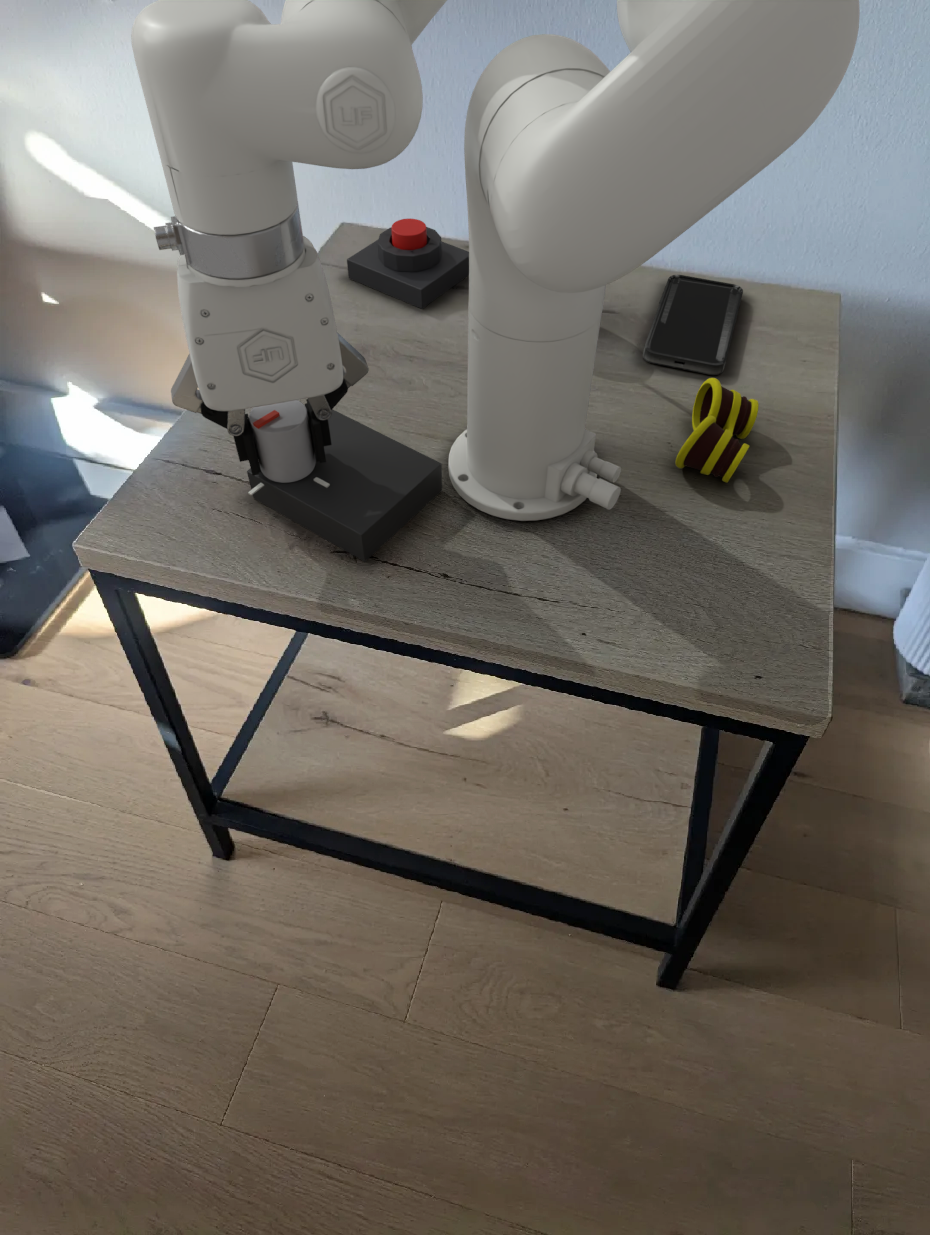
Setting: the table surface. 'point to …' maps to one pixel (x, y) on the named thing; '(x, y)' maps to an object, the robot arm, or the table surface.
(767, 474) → the table surface
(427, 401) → the table surface
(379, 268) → the grey button base
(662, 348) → the phone
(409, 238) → the power button
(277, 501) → the panel
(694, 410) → the opera glasses
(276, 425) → the knob
